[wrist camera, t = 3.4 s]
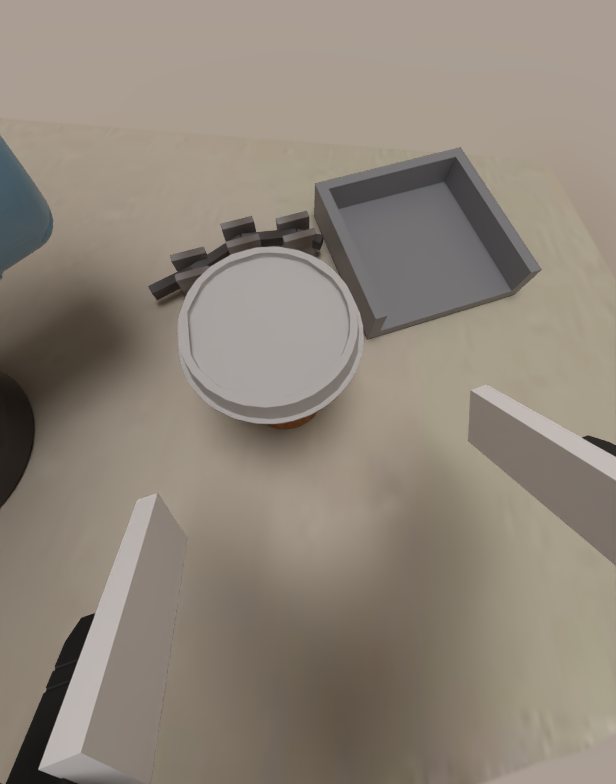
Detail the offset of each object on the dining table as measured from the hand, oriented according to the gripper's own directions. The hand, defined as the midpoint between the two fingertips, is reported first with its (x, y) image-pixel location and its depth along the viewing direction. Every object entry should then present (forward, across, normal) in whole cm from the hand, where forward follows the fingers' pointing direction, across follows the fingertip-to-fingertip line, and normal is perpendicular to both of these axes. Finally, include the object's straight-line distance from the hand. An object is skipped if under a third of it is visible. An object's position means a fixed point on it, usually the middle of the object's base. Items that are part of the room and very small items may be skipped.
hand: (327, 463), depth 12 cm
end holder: (+21, +15, +4) cm, 26 cm away
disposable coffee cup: (+14, 0, -4) cm, 14 cm away
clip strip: (+23, 0, +7) cm, 24 cm away
